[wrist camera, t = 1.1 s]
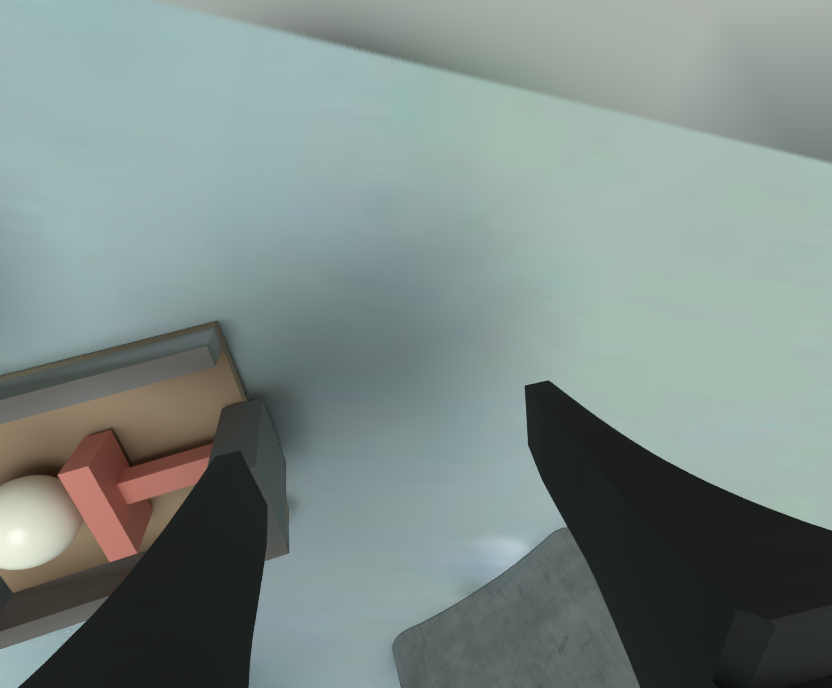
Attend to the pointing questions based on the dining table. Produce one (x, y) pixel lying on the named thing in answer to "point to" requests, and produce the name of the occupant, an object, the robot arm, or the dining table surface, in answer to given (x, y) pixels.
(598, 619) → the hip flask
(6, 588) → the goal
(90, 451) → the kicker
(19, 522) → the ball
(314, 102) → the dining table surface
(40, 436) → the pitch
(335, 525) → the dining table surface
